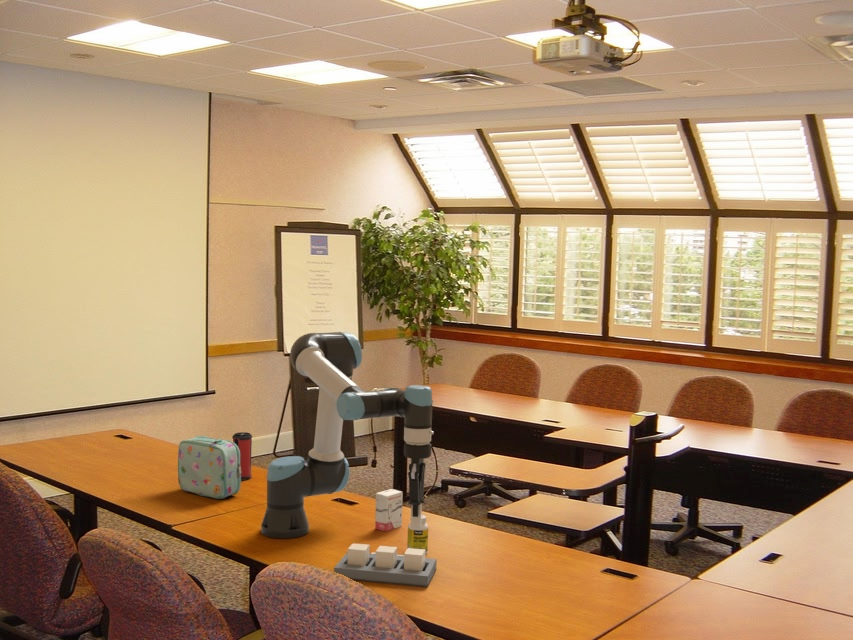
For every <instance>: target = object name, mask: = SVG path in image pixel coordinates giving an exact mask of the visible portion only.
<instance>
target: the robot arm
mask: <svg viewBox="0 0 853 640" xmlns="http://www.w3.org/2000/svg"><path fill="white" fill-rule="evenodd" d="M289 359H290V363H291V365H292V367H293V368H294V369H295V370H296V372H298V374H300V375H301V376H304V377H308V378H309V379H310V380H311V381H312V382H313V383H315V384H316V385H317V386H318V387H319V391H318V392H319V393H318V398H317V399H318V402H317V411H316V421H315V422H316V423H315V432H314V441H313V448H312V449H310V450H309V451H308V454H307V455H308V456H307V459H305V457H303V456H300V455H293V456H289V455H288V456H282V457H279V458H275V459H274V460H272V461H271V462H270V463H269V464H268V466H267V474H266V510H265V512H264V516H263V518H262V521H261V523H260V524H261V526H260V534H261V535H263V536H264V537H268V538H273V539H294V538H300V537H303V536H305V535H307V534H308V533H309V530H310V529H309V528H310V525H309V521H308V517H307V514H306V511H305V503H304V501H305V498H306V497H307V498H308V497H313V496H314V497H315V496H320V495H332V494H334V493H339V492H341V491H342V490H344V489H345V488H346V486H347V485H348V483H349V480H350V475H351V473H350V472H351V471H350V468H349V466H350V464H349V462H348V460H347V458H346V457H345V454H344V452H343V451H342V450H341V442H342V435H343V425H344V421H358V420H366V419H367V420H368V419H378V418H379V419H380V418H388V417H390V418H391V417H400V418H404V425H403V426H404V427H403V441H404V444H403V455H404V457H405V458H407V459H411V460H410V463H409V464H408V470H409V471H408V472H407V477H408V491H409V497H408V498H409V501H408V503H407V504H408V505H409V506H410V523H411V528H421V517H422V515H423V513H422V510H423V509H422V507H423V505H422V504H425V501H426V500H424V490H425V489H424V488H425V475H426V473H425V472H426V466H427V464H426V462H425V461H424V460H426V459H429V458H430V457H431V456H432V443H430V442H432V435H434V433H435V432H434V431H433V430H432V428H433V427H432V423H433V421H432V420H433V404H434V401H433V390H432V388H431V387H430V386H428V385H421V384H419V385H416V384H415V385H412V384H411V385H408V386H406V387H405V389H401V388H399V387H386V388H385V389H383V390H369V391H365V390H363V389H362V388H361V387H360V386H359V385H358V384H356V383H355V382H354V381H353V380H352V379H351V378H352V377H353V374H354V370H355V369H358V368H359V367H360V366H361V364H362V361H363V352H362V346H361V344H360V341H359V339H358V338H357V336H355V334H353V333H351V332H341V331H337V332H336V331H335V332H310V333H309V332H308V333H306V334H303V335H300V336H299V337H298V338H297V339H296V340H295V341H294V342H293V343H292V345H291V347H290V352H289Z"/></svg>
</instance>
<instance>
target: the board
mask: <svg viewBox="0 0 853 640" xmlns="http://www.w3.org/2000/svg"><path fill="white" fill-rule="evenodd" d="M347 561H348V551H347V552H346V553H345V554H344V556H343V557H342V558H341V559H340V560H339V561H338V563H337V564H335V566H334V568H333V573H334V572H336V573H339V574H342V575H344V576H346V577H348V578H350V579H353V580H352V581H357V582H359V581H360V582H367V583H369V582H370V583H376V584H377V583H379V584H389V585H398V586H399V585H402V586H409V587H410V586H412V587H422V588H428V587H429V585H430V583H431V581H432V579H433V577H434V575H435V573H436V571H437V559H436V558H430V557H429V558H427V557H425V566H424V568H423V570H422V571H416V570H405V569H404V556H397V564H396V565H395V567H394V568H383V567H375V564H376V554H372V552H371V553H369V562H368V563H367V564H366V566H360V565H349V564H347Z"/></svg>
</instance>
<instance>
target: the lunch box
mask: <svg viewBox="0 0 853 640" xmlns="http://www.w3.org/2000/svg"><path fill="white" fill-rule="evenodd" d="M177 452H178V453H177V480H178V485H179V488H180V489H181V490H182V491H185V492H190V493H193V494H196V495H199V496H201V497H209V498H213V499H219V500H220V499H221V500H222V499H225V498H227V497H230V496H232V495H237V494H238V493H239V491H240V490H241V483H242V480H241V473H242V472H241V467H240V450H239V448H238V446H237V445H236V444H235V443H233V440H232V441H231V440H228V439H222V438H219V439H217V438H215V437H214V438H213V437H210V436H205V435H197V436H195V437H192V438H189V439H185V440H182V441H181V440H180V443H179V445H178V451H177Z"/></svg>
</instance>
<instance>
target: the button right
mask: <svg viewBox="0 0 853 640" xmlns="http://www.w3.org/2000/svg"><path fill="white" fill-rule="evenodd" d="M403 555H404V569H405V570H416V571H422V570H423V568H424V566H425V558H426V554H425V549H413V548H408V549H407V548H406V550H405V552H404V554H403Z"/></svg>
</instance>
